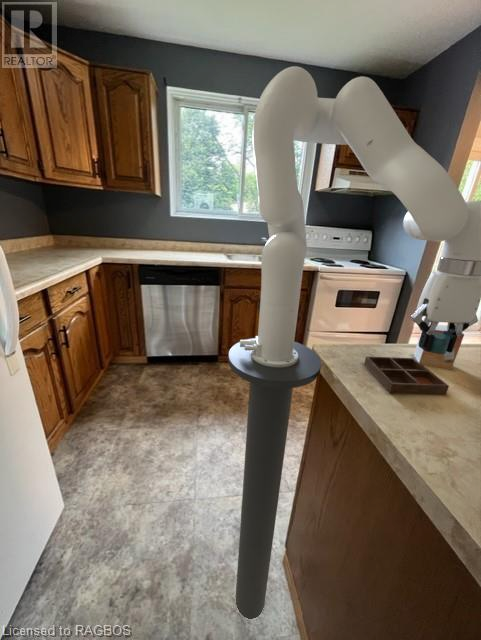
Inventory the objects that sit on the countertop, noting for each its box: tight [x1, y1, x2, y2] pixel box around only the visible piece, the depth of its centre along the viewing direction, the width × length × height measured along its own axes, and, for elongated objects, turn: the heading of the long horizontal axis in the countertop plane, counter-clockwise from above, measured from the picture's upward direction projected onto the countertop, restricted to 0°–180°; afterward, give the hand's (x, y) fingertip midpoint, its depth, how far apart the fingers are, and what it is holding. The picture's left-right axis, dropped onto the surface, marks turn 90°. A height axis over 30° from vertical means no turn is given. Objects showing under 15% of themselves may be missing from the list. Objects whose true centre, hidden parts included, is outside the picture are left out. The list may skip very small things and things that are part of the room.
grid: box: [363, 356, 450, 396], centre depth 67 cm, size 13×13×2 cm
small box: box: [413, 323, 465, 370], centre depth 74 cm, size 8×6×10 cm
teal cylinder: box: [430, 332, 451, 354], centre depth 60 cm, size 4×4×4 cm
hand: (434, 348), depth 61 cm, fingers closed on teal cylinder, 4 cm apart
